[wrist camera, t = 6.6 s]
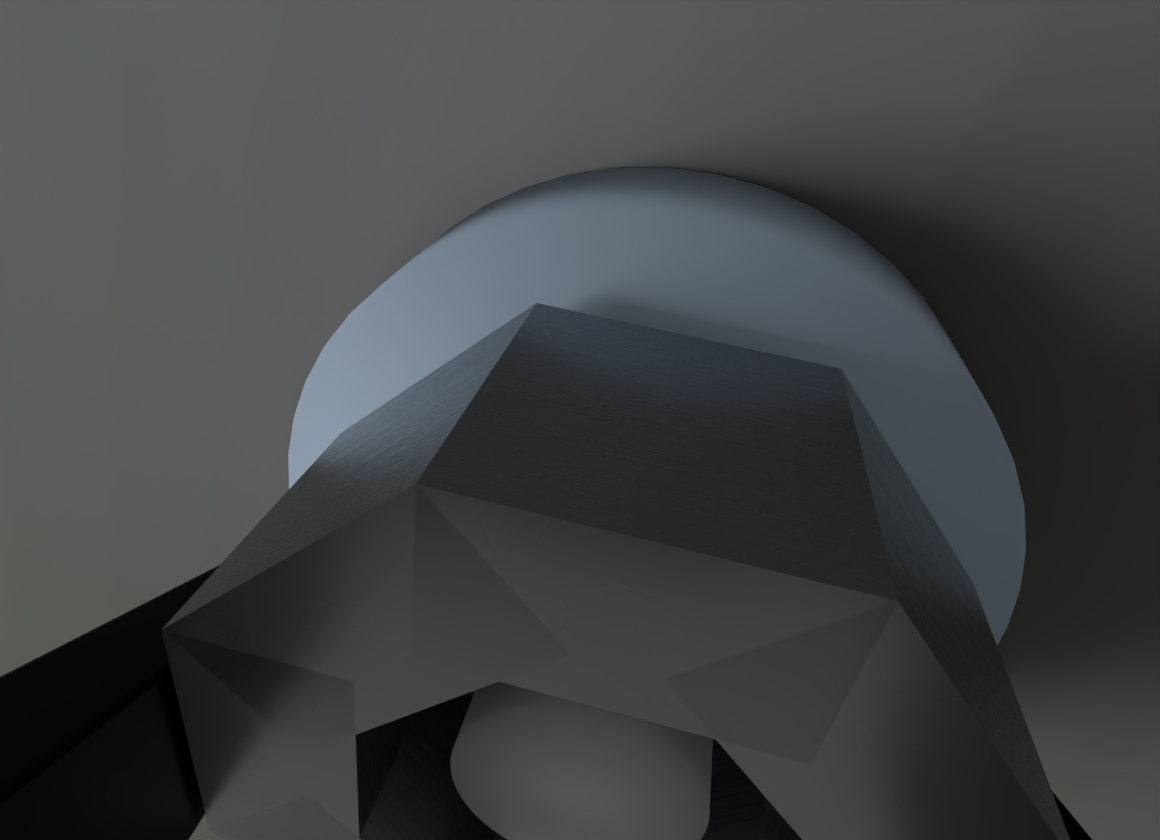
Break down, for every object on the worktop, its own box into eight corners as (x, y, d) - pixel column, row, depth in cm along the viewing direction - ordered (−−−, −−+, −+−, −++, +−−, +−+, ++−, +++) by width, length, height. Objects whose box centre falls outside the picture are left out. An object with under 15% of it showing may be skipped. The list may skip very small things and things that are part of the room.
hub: (1117, 251, 8) (1524, 545, 4) (844, 740, 13) (892, 1110, 9) (350, 103, 9) (-12, 209, 5) (362, 614, 14) (190, 896, 9)
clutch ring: (1071, 418, 6) (1278, 693, 4) (822, 835, 10) (845, 1114, 8) (335, 258, 7) (108, 408, 5) (352, 706, 11) (231, 924, 8)
